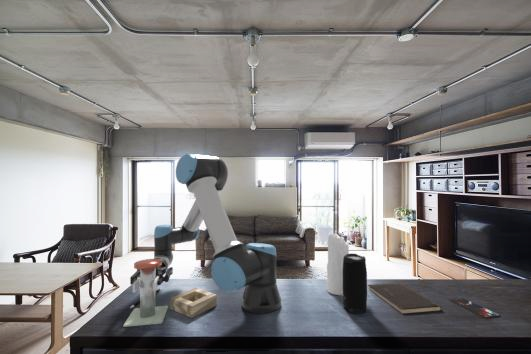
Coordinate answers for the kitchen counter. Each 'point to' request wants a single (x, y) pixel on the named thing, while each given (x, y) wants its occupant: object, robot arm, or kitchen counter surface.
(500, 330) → the kitchen counter surface
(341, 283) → the decorative vase
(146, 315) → the steel peg
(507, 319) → the kitchen counter surface
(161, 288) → the pen
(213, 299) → the block
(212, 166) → the robot arm
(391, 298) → the hardcover book
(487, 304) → the kitchen counter surface
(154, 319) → the sage pad
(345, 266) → the portable speaker
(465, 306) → the smartphone
